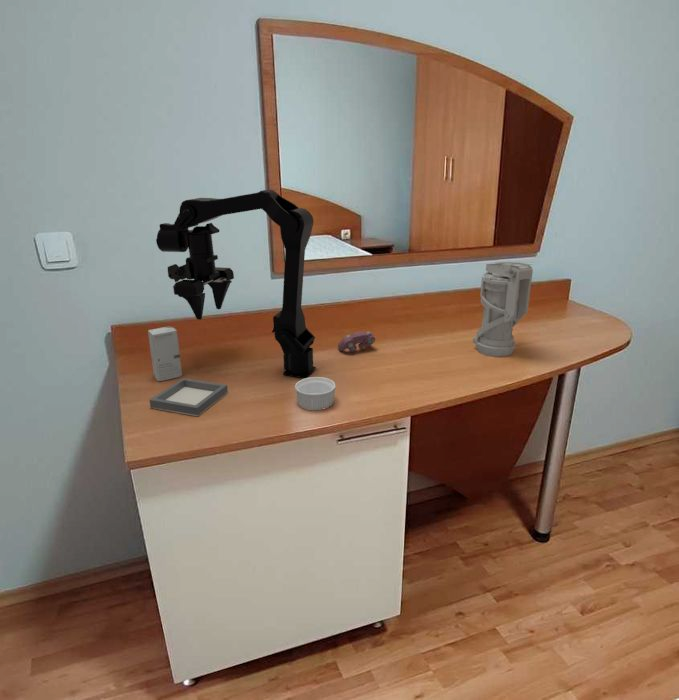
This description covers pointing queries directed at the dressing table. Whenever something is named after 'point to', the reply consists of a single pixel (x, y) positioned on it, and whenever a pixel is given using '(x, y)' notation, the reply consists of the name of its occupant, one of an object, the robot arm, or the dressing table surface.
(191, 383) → the holder
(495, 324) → the lantern
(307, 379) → the ramekin
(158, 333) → the skincare box
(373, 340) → the video game controller
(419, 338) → the dressing table surface
